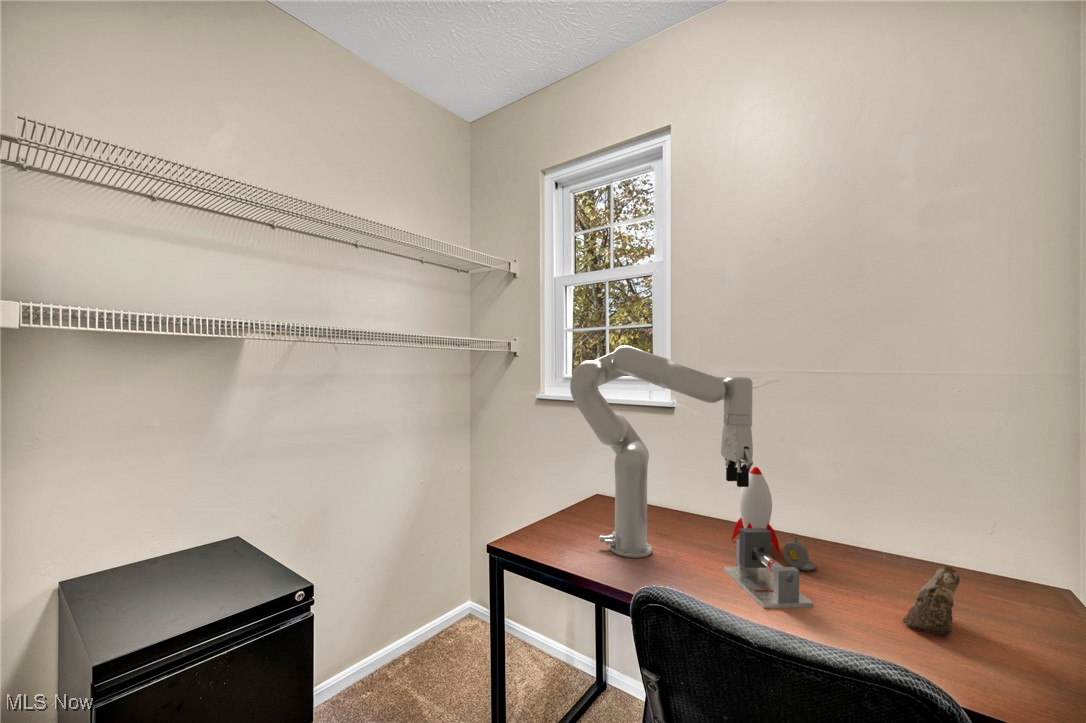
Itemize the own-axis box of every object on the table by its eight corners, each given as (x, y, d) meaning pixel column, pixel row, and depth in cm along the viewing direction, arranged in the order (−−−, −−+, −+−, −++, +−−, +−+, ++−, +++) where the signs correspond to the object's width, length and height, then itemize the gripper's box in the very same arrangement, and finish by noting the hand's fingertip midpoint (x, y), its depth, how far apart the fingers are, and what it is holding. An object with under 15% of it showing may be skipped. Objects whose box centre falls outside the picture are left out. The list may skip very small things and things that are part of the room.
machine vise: (763, 608, 108) (764, 571, 108) (723, 570, 128) (724, 539, 128) (813, 607, 108) (813, 570, 109) (766, 569, 128) (766, 538, 128)
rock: (899, 569, 112) (919, 548, 101) (940, 582, 109) (964, 562, 98) (894, 632, 105) (914, 617, 94) (937, 648, 102) (963, 635, 91)
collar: (744, 567, 121) (745, 532, 121) (739, 563, 124) (739, 528, 124) (770, 567, 122) (771, 532, 122) (764, 562, 125) (764, 528, 125)
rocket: (767, 542, 148) (768, 463, 149) (781, 556, 138) (781, 471, 138) (731, 540, 150) (731, 462, 150) (742, 554, 139) (742, 470, 139)
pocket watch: (812, 563, 133) (812, 528, 133) (819, 576, 125) (819, 538, 125) (780, 559, 135) (780, 524, 135) (784, 571, 127) (785, 534, 128)
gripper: (712, 416, 142) (711, 476, 141) (739, 424, 124) (739, 492, 124) (735, 417, 142) (735, 476, 142) (767, 424, 125) (766, 491, 125)
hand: (737, 483), depth 133 cm, fingers open, 5 cm apart
